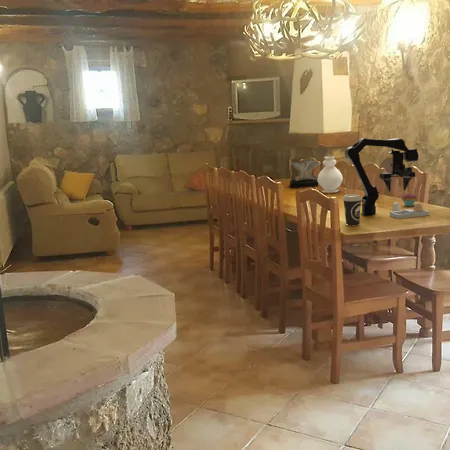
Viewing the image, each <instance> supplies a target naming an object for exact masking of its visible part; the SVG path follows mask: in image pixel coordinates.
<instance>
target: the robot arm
mask: <svg viewBox="0 0 450 450" xmlns="http://www.w3.org/2000/svg"><path fill="white" fill-rule="evenodd" d="M367 146H368V147H369V146H370V147H383V148H384V147H385V148H388V149H389V148H391V149H390V150H389V152H388V154H389V155H391V156H392V157H391V158H392V159H391V163H390V166H391V170H390V172H380V173H379V176H378V177H379V179H381V181H383V182H384V184H385V187H386V188H387V190H388V191H387V192H391V190H392V189H391V182H392V178H396V177H397V178H399V177H400V178H402V185H403V186H402V187H403V191H406V188H407V189H408V185H409V182H410V181H411V180H412V179H414V178H416V172H415V171H413V167H411V166H408V167H406V165H405V163H404V161H405V162H409V163H411V162H418V161H419V155H420V154H419V152H418V149H417V148H408V146H407V145H406V142H405V140H404V139H403V138H398V137H397V138H396V137H395V138H389V139H378V138H365V137H362V138H360V139H359V140H358V141H357V142H355V143H354V144H352V145H351V146H348V147H347V148H346V149H345V150H344V155H345V156H346V158H347V159H348V161H350V163H351V164H352V165H353V168H354V169H355V171H356V175H357V176H358V178H359V181H360V182H361V184H362V187H363V193H364V196H362V197H361V198H362V200H361V212H360V215H362V216H365V217H366V216H367V217H368V216H374V215H376V214H377V209H376V208H377V206H376V202H377V201H378V199H379V196H380V195H379V194H380V192H379V191H378V188H377V186H376V185H374V184H371V181H370V180H369V177H368V175H367V173H366V171H365V169H364V166H363V165H362V162H361V158H360V154H359V153H360V152H362V150H363V149H364V148H365V147H367Z"/></svg>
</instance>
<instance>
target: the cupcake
mask: <svg viewBox="0 0 450 450" xmlns="http://www.w3.org/2000/svg"><path fill="white" fill-rule="evenodd" d="M405 191H406V193H405V194H403V195H402V196H401V200H402V202H403V204H404V206H405V207H413V206H415V202H416V201H417V200H418V197H417V195H415V194H414V193H409V192H408V187H407V188H406V190H405Z"/></svg>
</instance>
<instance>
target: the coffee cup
mask: <svg viewBox="0 0 450 450" xmlns="http://www.w3.org/2000/svg"><path fill="white" fill-rule="evenodd" d="M362 198H363V197H362V196H361V195H360V194H354V193H352V194H345V195H343V197H342V201H343V206H344V207H343V208H344V217H345V225H346V224H348V225H358V224H359V225H360V219H361V218H360V217H361V209H362V201H361V200H362ZM359 225H358V226H359Z"/></svg>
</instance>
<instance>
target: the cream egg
mask: <svg viewBox="0 0 450 450" xmlns="http://www.w3.org/2000/svg"><path fill="white" fill-rule="evenodd" d="M401 209H402V207H401V204H400V202H399V201H395V202H393V204H392V208H391V212H396V211H402V210H401Z"/></svg>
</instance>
